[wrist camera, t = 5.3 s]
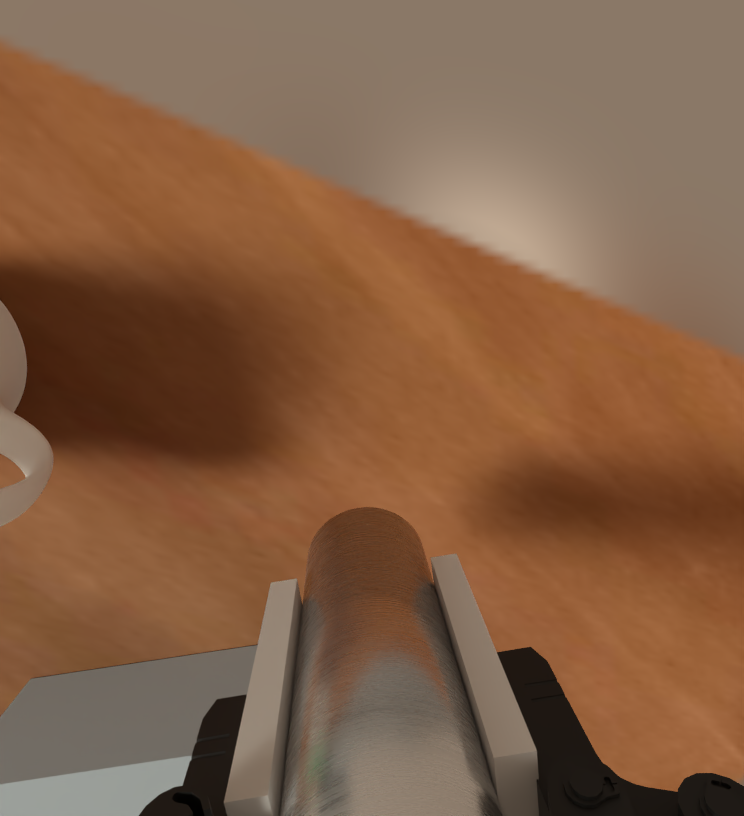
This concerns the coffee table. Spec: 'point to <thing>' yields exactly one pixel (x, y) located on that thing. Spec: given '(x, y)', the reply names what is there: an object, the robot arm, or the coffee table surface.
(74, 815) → the socket block
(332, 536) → the peg
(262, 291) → the coffee table surface
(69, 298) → the coffee table surface
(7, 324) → the mug
